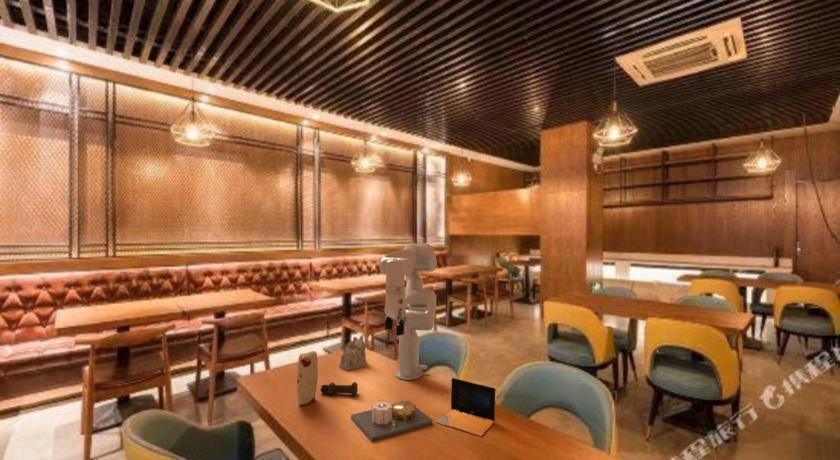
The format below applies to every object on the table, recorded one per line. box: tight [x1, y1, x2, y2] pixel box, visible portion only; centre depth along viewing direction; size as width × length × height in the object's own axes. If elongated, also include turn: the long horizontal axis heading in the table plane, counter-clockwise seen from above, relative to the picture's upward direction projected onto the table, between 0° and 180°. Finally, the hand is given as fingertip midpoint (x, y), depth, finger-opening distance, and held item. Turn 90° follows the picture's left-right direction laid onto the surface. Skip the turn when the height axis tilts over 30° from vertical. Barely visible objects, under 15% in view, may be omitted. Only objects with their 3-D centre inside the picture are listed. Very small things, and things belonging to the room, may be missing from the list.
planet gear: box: [371, 401, 393, 425], centre depth 142 cm, size 7×7×5 cm
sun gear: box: [392, 400, 417, 420], centre depth 146 cm, size 9×9×3 cm
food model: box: [296, 350, 319, 405], centre depth 158 cm, size 10×7×20 cm
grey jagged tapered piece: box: [338, 334, 368, 371], centre depth 204 cm, size 16×16×15 cm
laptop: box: [435, 377, 496, 428], centre depth 144 cm, size 18×12×13 cm
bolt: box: [320, 381, 358, 397], centre depth 166 cm, size 6×5×15 cm
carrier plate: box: [350, 400, 433, 443], centre depth 143 cm, size 24×18×7 cm
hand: (394, 332), depth 160 cm, fingers open, 9 cm apart
